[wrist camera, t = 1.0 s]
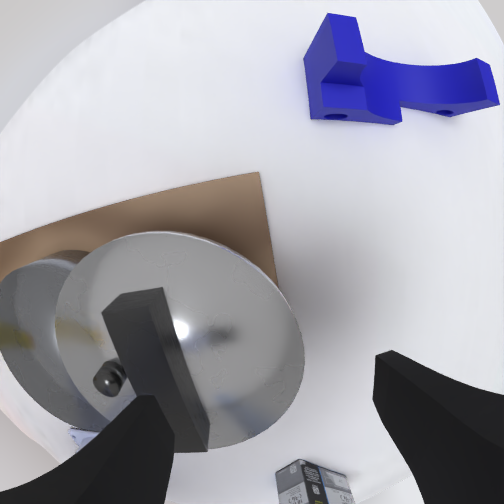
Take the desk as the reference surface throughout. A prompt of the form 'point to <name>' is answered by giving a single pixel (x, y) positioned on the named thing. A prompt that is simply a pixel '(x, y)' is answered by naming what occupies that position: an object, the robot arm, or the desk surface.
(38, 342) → the grey dish and cube
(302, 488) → the grey blue carton
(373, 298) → the desk surface
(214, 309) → the lid
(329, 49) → the cable clip
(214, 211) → the walnut board
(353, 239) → the desk surface
